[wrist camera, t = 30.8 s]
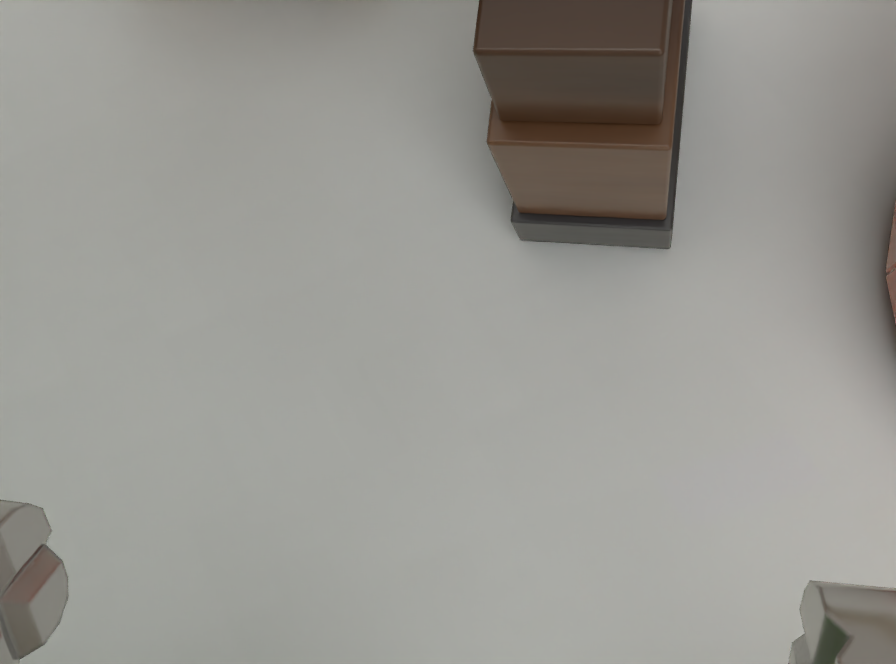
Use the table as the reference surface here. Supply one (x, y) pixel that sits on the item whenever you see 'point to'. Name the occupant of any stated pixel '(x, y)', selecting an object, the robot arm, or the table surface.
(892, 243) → the bowl
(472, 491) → the table surface
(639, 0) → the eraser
